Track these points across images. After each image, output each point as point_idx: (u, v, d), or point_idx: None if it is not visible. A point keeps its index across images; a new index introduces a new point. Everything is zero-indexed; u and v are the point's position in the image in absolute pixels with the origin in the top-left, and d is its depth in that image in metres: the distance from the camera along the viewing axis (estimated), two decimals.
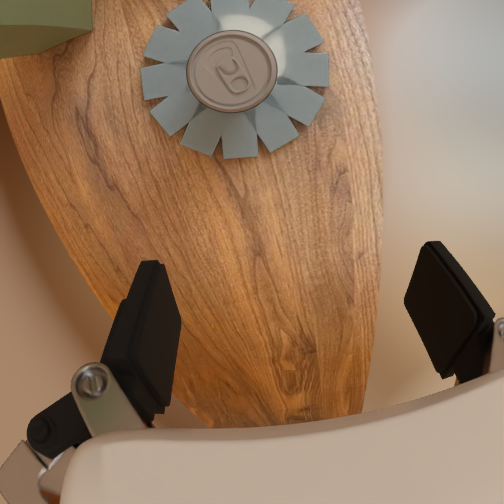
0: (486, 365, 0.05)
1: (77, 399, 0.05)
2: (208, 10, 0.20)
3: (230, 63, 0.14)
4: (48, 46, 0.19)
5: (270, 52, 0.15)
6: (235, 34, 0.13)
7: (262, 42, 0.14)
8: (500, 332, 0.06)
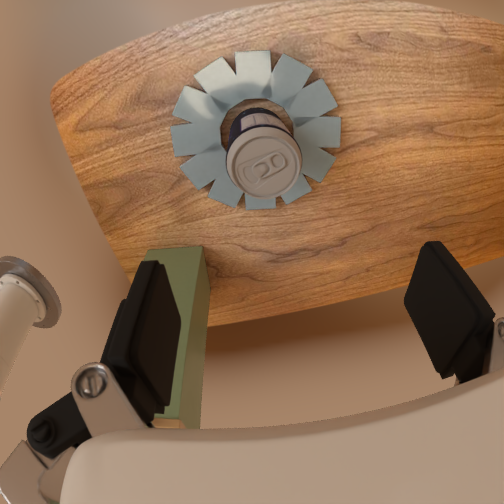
0: (486, 365, 0.05)
1: (77, 399, 0.05)
2: (196, 156, 0.30)
3: (258, 167, 0.20)
4: (207, 282, 0.40)
5: (247, 132, 0.19)
6: (231, 164, 0.20)
7: (237, 139, 0.20)
8: (500, 332, 0.06)
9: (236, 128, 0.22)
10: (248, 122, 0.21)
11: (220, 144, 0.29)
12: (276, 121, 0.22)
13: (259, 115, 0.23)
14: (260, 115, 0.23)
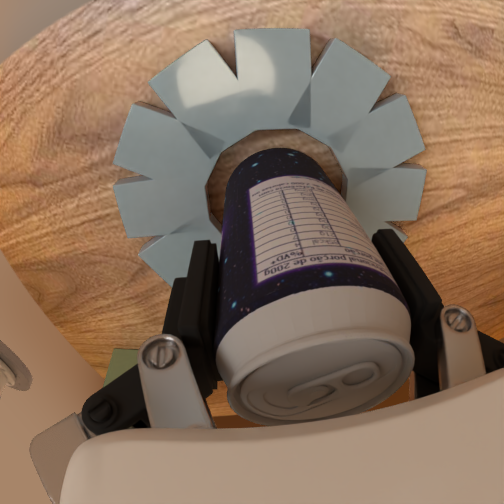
0: (441, 361, 0.06)
1: (147, 371, 0.06)
2: (164, 239, 0.17)
3: (305, 390, 0.07)
4: None
5: (279, 308, 0.06)
6: (230, 395, 0.06)
7: (246, 323, 0.06)
8: (448, 322, 0.06)
9: (239, 234, 0.09)
10: (274, 228, 0.08)
11: (207, 218, 0.16)
12: (345, 218, 0.09)
13: (296, 189, 0.10)
14: (299, 189, 0.10)
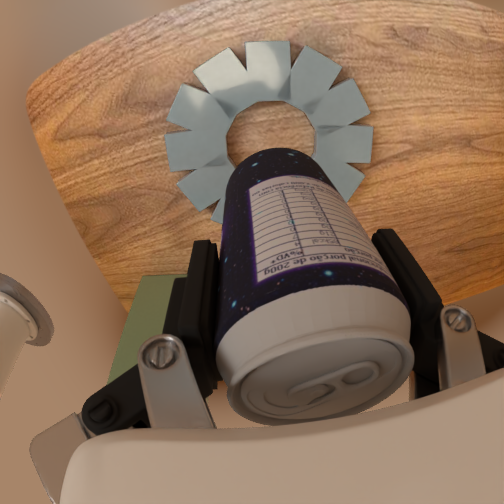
0: (441, 361, 0.06)
1: (147, 371, 0.06)
2: (196, 171, 0.25)
3: (304, 389, 0.07)
4: None
5: (279, 307, 0.06)
6: (230, 394, 0.06)
7: (246, 322, 0.06)
8: (448, 321, 0.06)
9: (239, 233, 0.09)
10: (274, 228, 0.08)
11: (226, 157, 0.24)
12: (345, 217, 0.09)
13: (296, 188, 0.10)
14: (299, 188, 0.10)
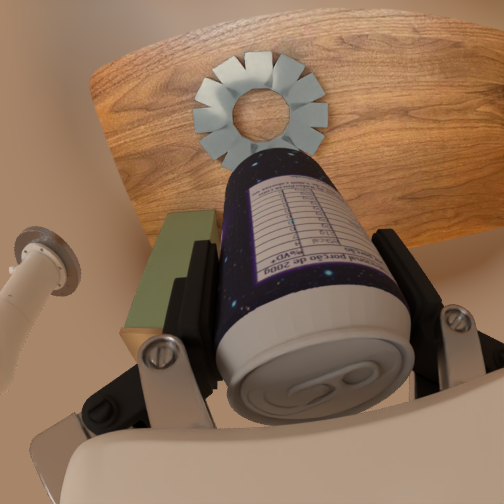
0: (441, 361, 0.06)
1: (147, 371, 0.06)
2: (212, 133, 0.37)
3: (304, 388, 0.07)
4: (218, 241, 0.47)
5: (279, 307, 0.06)
6: (230, 394, 0.06)
7: (246, 322, 0.06)
8: (448, 321, 0.06)
9: (239, 233, 0.09)
10: (274, 228, 0.08)
11: (232, 123, 0.36)
12: (345, 217, 0.09)
13: (296, 188, 0.10)
14: (299, 188, 0.10)
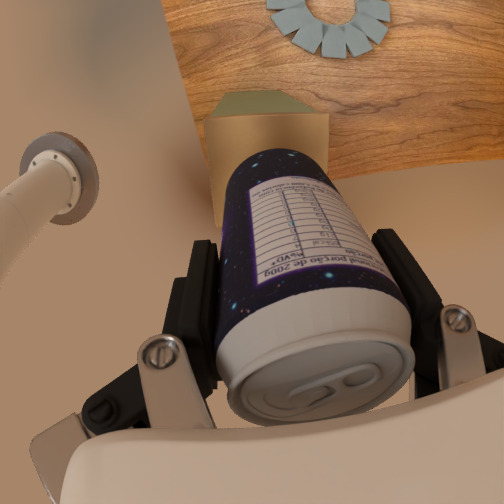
0: (441, 361, 0.06)
1: (147, 371, 0.06)
2: (284, 10, 0.28)
3: (305, 391, 0.07)
4: None
5: (279, 310, 0.06)
6: (230, 397, 0.06)
7: (246, 325, 0.06)
8: (448, 322, 0.06)
9: (239, 234, 0.09)
10: (274, 229, 0.08)
11: (304, 4, 0.28)
12: (345, 218, 0.09)
13: (297, 189, 0.10)
14: (299, 189, 0.10)
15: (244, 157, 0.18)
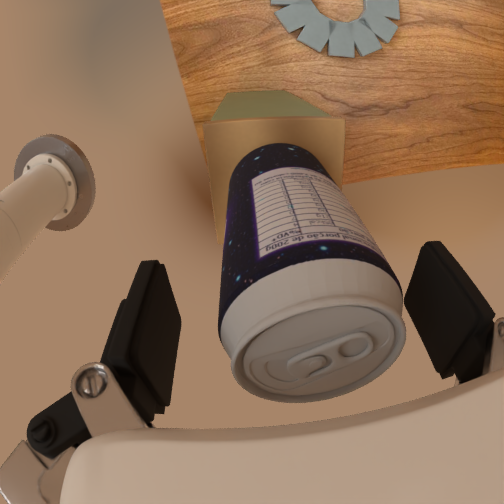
0: (486, 365, 0.05)
1: (77, 399, 0.05)
2: (289, 6, 0.26)
3: (303, 360, 0.08)
4: None
5: (279, 278, 0.07)
6: (234, 363, 0.07)
7: (249, 293, 0.07)
8: (500, 332, 0.06)
9: (243, 218, 0.10)
10: (275, 212, 0.09)
11: (310, 0, 0.26)
12: (340, 203, 0.09)
13: (295, 178, 0.10)
14: (298, 178, 0.10)
15: None
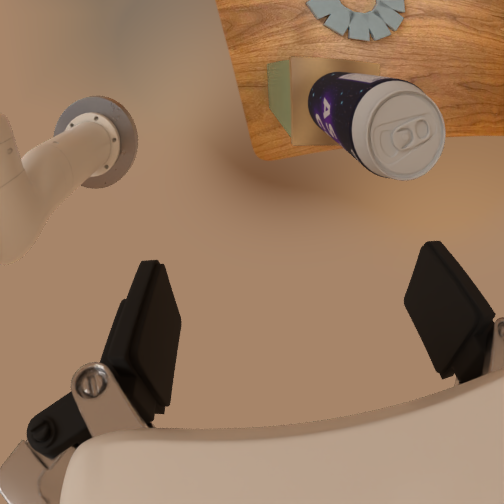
0: (486, 365, 0.05)
1: (77, 399, 0.05)
2: None
3: (399, 134, 0.12)
4: None
5: (384, 84, 0.11)
6: (368, 124, 0.12)
7: (371, 91, 0.12)
8: (500, 332, 0.06)
9: (346, 84, 0.14)
10: (366, 77, 0.13)
11: None
12: None
13: None
14: None
15: None
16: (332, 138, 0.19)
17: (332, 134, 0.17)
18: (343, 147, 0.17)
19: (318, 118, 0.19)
